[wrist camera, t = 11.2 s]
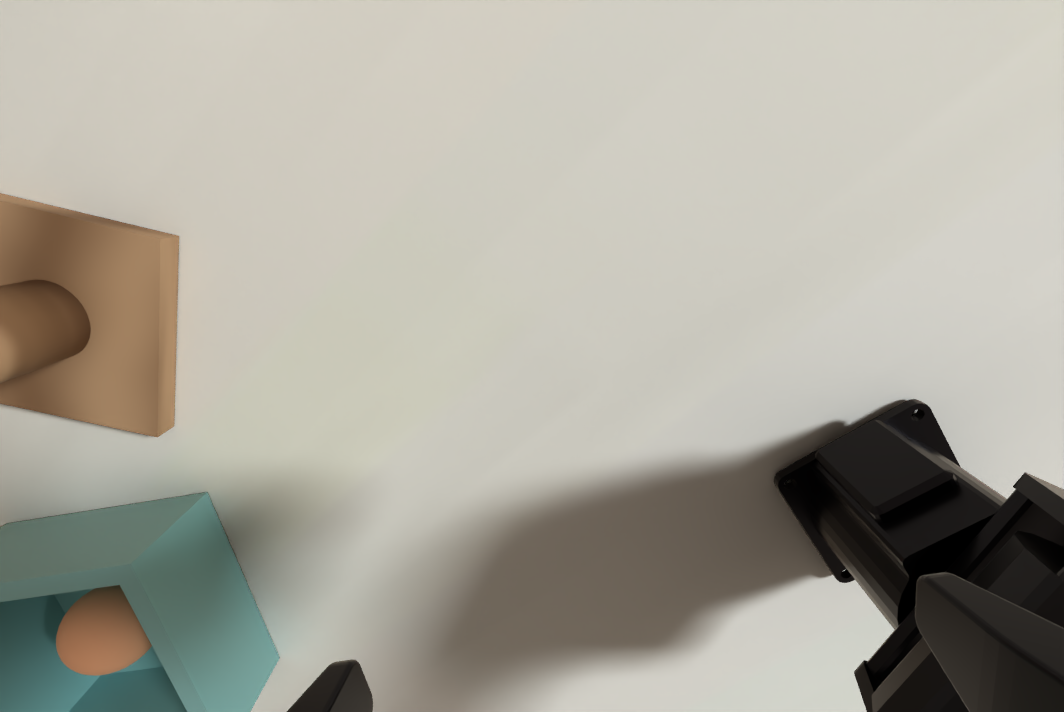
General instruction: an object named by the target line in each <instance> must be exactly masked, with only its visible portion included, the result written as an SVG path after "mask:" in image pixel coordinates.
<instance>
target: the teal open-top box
mask: <svg viewBox="0 0 1064 712" xmlns="http://www.w3.org/2000/svg"><path fill="white" fill-rule="evenodd" d="M115 585H120V587H121V589H122V590H123V592H124V594H125V596H126V598H127V600H128V602H129V604H130V605H131V607H132V609H133V611H134V613H135V615H136V617H137V619H138V620H139V622H140V624H141V626H142V628H143V630H144V632H145V634H146V635H147V637H148V639H149V641H150V643H151V645H152V646H151V648H150V649H149V650H148V651H147V652H146V653H145V654H144V655H143V656H142V657H141V658H139V659H138V660H137V661H136V662H134V663H132V664H131V665H129V666H128V667H126V668H124V669H121V670H119V671H116V672H113V673H110V674H105V675H97V676H93V675H83V674H80V673H77V672H75V671H73V670H71V669H69V668H68V667H67V666H66V665H65V664H64V663H63V662H62V661H61V659H60V657H59V655H58V652H57V648H56V635H57V631H58V628H59V625H60V623H61V621H62V619H63V617H64V615H65V614H66V613H67V611H68V610H69V609H70V607H71V606H72V605H73V604H74V603H75V602H76V601H77V600H79V599H80V598H81V597H82V596H84V595H85V594H87V593H88V592H90V591H91V590H93V589H95V588H101V587H108V586H115ZM279 658H280V657H279V655H278V653H277V651H276V648H275V646H274V644H273V641H272V639H271V637H270V635H269V632H268V630H267V628H266V625H265V623H264V621H263V619H262V616H261V614H260V612H259V609H258V607H257V605H256V603H255V600H254V598H253V596H252V593H251V591H250V589H249V587H248V584H247V582H246V580H245V577H244V575H243V573H242V571H241V568H240V566H239V564H238V561H237V559H236V557H235V555H234V552H233V550H232V548H231V545H230V543H229V541H228V539H227V536H226V534H225V532H224V529H223V527H222V525H221V523H220V520H219V518H218V516H217V513H216V511H215V509H214V507H213V504H212V502H211V500H210V497H209V495H208V493H207V492H205V493H199V494H193V495H186V496H180V497H173V498H167V499H161V500H154V501H148V502H141V503H135V504H129V505H122V506H116V507H109V508H103V509H97V510H90V511H84V512H77V513H71V514H65V515H58V516H52V517H46V518H39V519H33V520H26V521H20V522H14V523H7V524H5V525H4V526H2V527H0V712H250V711H251V709H252V708H253V706H254V704H255V702H256V700H257V698H258V697H259V695H260V693H261V691H262V689H263V687H264V686H265V684H266V682H267V680H268V678H269V676H270V675H271V673H272V671H273V669H274V667H275V665H276V664H277V662H278V660H279Z"/></svg>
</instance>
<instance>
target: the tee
mask: <svg viewBox="0 0 1064 712" xmlns="http://www.w3.org/2000/svg"><path fill="white" fill-rule="evenodd" d="M178 255H179V236H176V235H172V234H168V233H164V232H160V231H156V230H151V229H147V228H143V227H139V226H135V225H131V224H126V223H122V222H118V221H114V220H110V219H105V218H101V217H97V216H93V215H89V214H85V213H80V212H76V211H72V210H68V209H64V208H60V207H55V206H51V205H47V204H43V203H39V202H34V201H30V200H26V199H22V198H18V197H14V196H9V195H5V194H1V193H0V403H1V404H5V405H10V406H15V407H19V408H24V409H29V410H33V411H38V412H43V413H47V414H52V415H56V416H61V417H66V418H70V419H75V420H80V421H84V422H89V423H94V424H98V425H103V426H108V427H112V428H117V429H122V430H126V431H131V432H135V433H140V434H145V435H149V436H154V437H159V436H160V435H162V434H163V433H165V432H166V431H168V430H169V429H171V428H172V427H174V414H175V374H176V334H177V295H178Z"/></svg>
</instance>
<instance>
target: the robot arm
mask: <svg viewBox="0 0 1064 712" xmlns="http://www.w3.org/2000/svg"><path fill="white" fill-rule="evenodd" d="M917 409H918V411H917V413H916V414H915V415H914V416H911V415H912V412H914V411H915V410H917ZM789 479H792V481H791V482H790V483H789V484H786V485H785V484H784V483H785V482H786V481H787V480H789ZM774 483H775V486H776V487H777V489H778V490H779V492H780V493H781V495H782V496H783V498H784V500H785V501H786V503H787V504H788V506H789V507H790V509H791V510H792V512H793V514H794V515H795V517H796V518H797V520H798V521H799V523H800V524H801V526H802V527H803V529H804V531H805V532H806V534H807V535H808V537H809V538H810V540H811V541H812V543H813V544H814V546H815V548H816V549H817V551H818V552H819V554H820V555H821V557H822V558H823V560H824V562H825V563H826V565H827V566H828V568H829V569H830V571H831V572H832V574H833V575H834V576H835V578H836V579H837V580H838V581H839V582H842V583H848V582H851V581H853V580H856V581H857V582H858V584H859V585H860V586H861V588H862V589H863V590H864V591H865V593H866V594H867V595H868V596H869V598H870V599H871V600H872V601H873V603H874V604H875V605H876V607H877V608H878V609H879V610H880V612H881V613H882V614H883V615H884V617H885V618H886V619H887V621H888V622H889V623H890V624H891V626H892V627H893V628H894V629H895V630H894V632H893V633H892V634H891V635H890V636H889V637H888V639H887V640H886V641H885V642H884V643H883V644H882V646H881V647H880V648H879V649H878V650H877V651H876V653H875V654H874V655H873V656H872V657H871V658H870V660H869V661H865V660H864V661H863V662H862V663H861V664H860V666H859V667H858V668H857V669H856V670H855V671H854V674H855V677H856V680H857V683H858V686H859V689H860V692H861V695H862V698H863V701H864V704H865V707H866V710H867V712H1064V489H1061V488H1059V487H1057V486H1055V485H1052V484H1050V483H1048V482H1046V481H1044V480H1041V479H1039V478H1037V477H1035V476H1032V475H1030V474H1028V473H1024V474H1023V475H1022V476H1021V478H1020V479H1019V480H1018V481H1017V482H1016V483H1015V485H1014V486H1013V487H1014V488H1015V489H1016V490H1015V491H1014V492H1013V493H1012V494H1011V496H1010V497H1009V498H1008V499H1006V498H1005V497H1003V496H1002V495H1000V494H999V493H997V492H996V491H994V490H993V489H991V488H990V487H989V486H987V485H986V484H984V483H983V482H981V481H980V480H978V479H977V478H975V477H974V476H972V475H971V474H969V473H968V472H967V471H965V470H964V469H962V468H961V467H960V465H959V463H958V461H957V460H956V458H955V456H954V454H953V452H952V450H951V448H950V446H949V444H948V442H947V440H946V438H945V436H944V434H943V432H942V430H941V428H940V426H939V424H938V423H937V421H936V419H935V417H934V415H933V413H932V411H931V409H930V408H929V406H928V405H926V404H925V403H923V402H921V401H919V400H916V399H911V400H908V401H906V402H904V403H902V404H900V405H898V406H897V407H895V408H893V409H891V410H889V411H888V412H886V413H884V414H882V415H880V416H879V417H877V418H875V419H873V420H871V421H869V422H868V423H866V424H864V425H862V426H860V427H859V428H857V429H855V430H853V431H851V432H850V433H848V434H846V435H844V436H842V437H840V438H839V439H837V440H835V441H833V442H831V443H830V444H828V445H826V446H824V447H822V448H821V449H819V450H817V451H815V452H813V453H811V454H810V455H808V456H806V457H804V458H802V459H801V460H799V461H797V462H795V463H793V464H792V465H790V466H788V467H786V468H784V469H782V470H781V471H779V472H778V473H777V474H776V476H775V477H774ZM845 569H846V570H845ZM843 570H845V571H843ZM842 571H843V572H842ZM372 710H373V699H372V694H371V691H370V689H369V686H368V684H367V681H366V679H365V676H364V674H363V671H362V668H361V666H360V664H359V662H357V661H356V660H346V661H339V662H334V663H332V664H331V665H329V666H328V667H327V668H326V669H325V670H324V671H323V672H322V674H321V675H320V676H319V677H318V678H317V679H316V680H315V681H314V682H313V683H312V685H311V686H310V687H309V688H308V689H307V690H306V691H305V692H304V693H303V694H302V696H301V697H300V698H299V699H298V700H297V701H296V702H295V703H294V704H293V706H292V707H291V708H290V709H289V710H288V711H287V712H372Z"/></svg>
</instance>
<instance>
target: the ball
mask: <svg viewBox="0 0 1064 712" xmlns="http://www.w3.org/2000/svg"><path fill="white" fill-rule="evenodd" d="M151 646H152V645H151V643H150V641H149V639H148V637H147V635H146V634H145V632H144V630H143V628H142V626H141V624H140V622H139V620H138V619H137V617H136V615H135V613H134V611H133V609H132V607H131V605H130V604H129V602H128V600H127V598H126V596H125V594H124V592H123V590H122V589H121V587H120V585H115V586H108V587H101V588H95V589H93V590H91V591H90V592H88V593H87V594H85V595H84V596H82V597H81V598H80V599H79V600H77V601H76V602H75V603H74V604H73V605H72V606H71V607H70V609H69V610H68V611H67V613H66V614H65V615H64V617H63V619H62V621H61V623H60V625H59V628H58V631H57V635H56V648H57V652H58V655H59V657H60V659H61V661H62V662H63V663H64V664H65V665H66V666H67V667H68V668H69V669H71V670H73V671H75V672H77V673H80V674H83V675H93V676H97V675H105V674H110V673H113V672H116V671H119V670H121V669H124V668H126V667H128V666H129V665H131V664H132V663H134V662H136V661H137V660H138V659H139V658H141V657H142V656H143V655H144V654H145V653H146V652H147V651H148V650H149V649H150V648H151Z"/></svg>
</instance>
